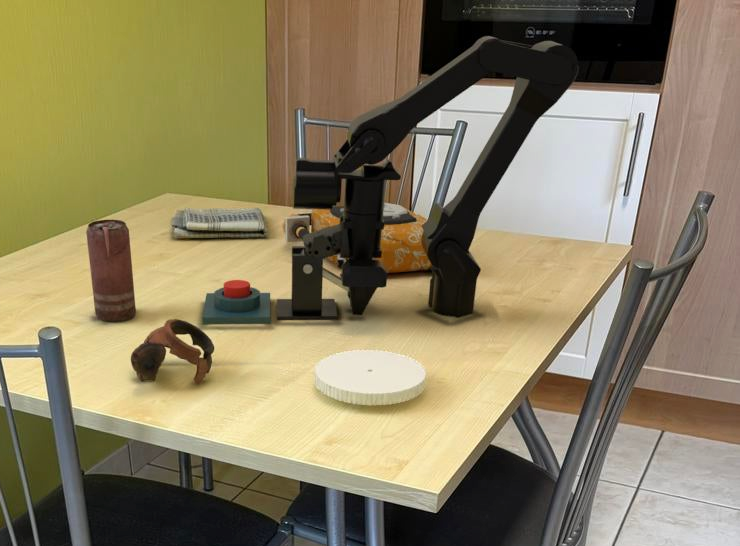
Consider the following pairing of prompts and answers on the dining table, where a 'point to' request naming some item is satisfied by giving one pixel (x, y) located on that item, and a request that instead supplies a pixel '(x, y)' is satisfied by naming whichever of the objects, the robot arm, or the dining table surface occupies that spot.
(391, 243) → the device
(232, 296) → the red button
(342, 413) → the dining table surface
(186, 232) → the dish towel
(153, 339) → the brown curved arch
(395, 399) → the plastic lid
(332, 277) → the lever handle
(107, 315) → the can
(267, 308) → the button housing
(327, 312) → the lever bracket
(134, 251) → the dining table surface
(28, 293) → the dining table surface
